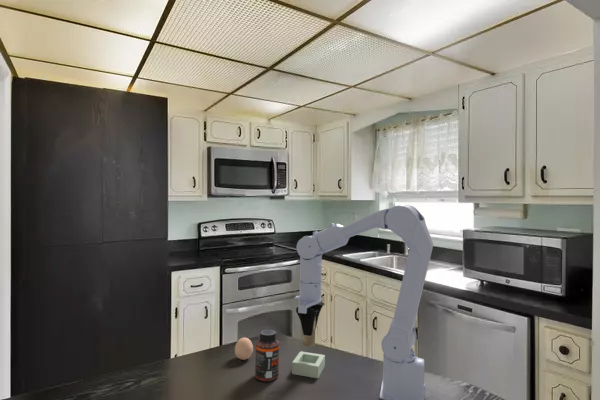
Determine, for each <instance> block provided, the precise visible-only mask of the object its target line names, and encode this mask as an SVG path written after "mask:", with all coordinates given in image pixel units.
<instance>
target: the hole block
mask: <svg viewBox="0 0 600 400" xmlns="http://www.w3.org/2000/svg"><path fill="white" fill-rule="evenodd" d="M291 363H292V364H291V374H292V375H297V376H302V377H307V378H311V379H312V378H313V379H319V378H320V376H321V374H322V373H323V370H324V369H325V366H326V355H325V354H321V353H314V352H306V351H302V350H301V351H299V352H298V354H297V355H296V356H295V357H294V360H292V362H291Z"/></svg>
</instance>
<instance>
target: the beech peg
mask: <svg viewBox="0 0 600 400" xmlns="http://www.w3.org/2000/svg"><path fill="white" fill-rule="evenodd" d="M314 310H315V309H314ZM315 323H316V317H315V321H314V326H313V332H312V335H311V336H307V335H303V346H305V347H309V348H310V347H314V346H315V345H316V330H315Z"/></svg>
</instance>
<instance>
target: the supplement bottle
mask: <svg viewBox="0 0 600 400" xmlns="http://www.w3.org/2000/svg"><path fill="white" fill-rule="evenodd" d="M255 343H256V344H255V364H254V365H255V366H254V367H255V369H254V370H255V371H254V373H255V374H254V376H255V378H256V379H257V380H259V381H260V382H272V381H275V380H276V379H277V378H278V377H279V372H280V340H278V339H277V331H276V330H273V329H264V330H261V331H260V332H259V339H257V341H256V342H255Z"/></svg>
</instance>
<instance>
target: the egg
mask: <svg viewBox="0 0 600 400" xmlns="http://www.w3.org/2000/svg"><path fill="white" fill-rule="evenodd" d="M234 353H235V356H236V357H237V359H239V360H242V361H243V360H244V361H245V360H248V359H249V358H250V357H251V356H252V355H253V353H254V345H253V343H252V341H251V340H250V339H249V338H248V337H241V338H239V340H237V342H236V344H235V346H234Z"/></svg>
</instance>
